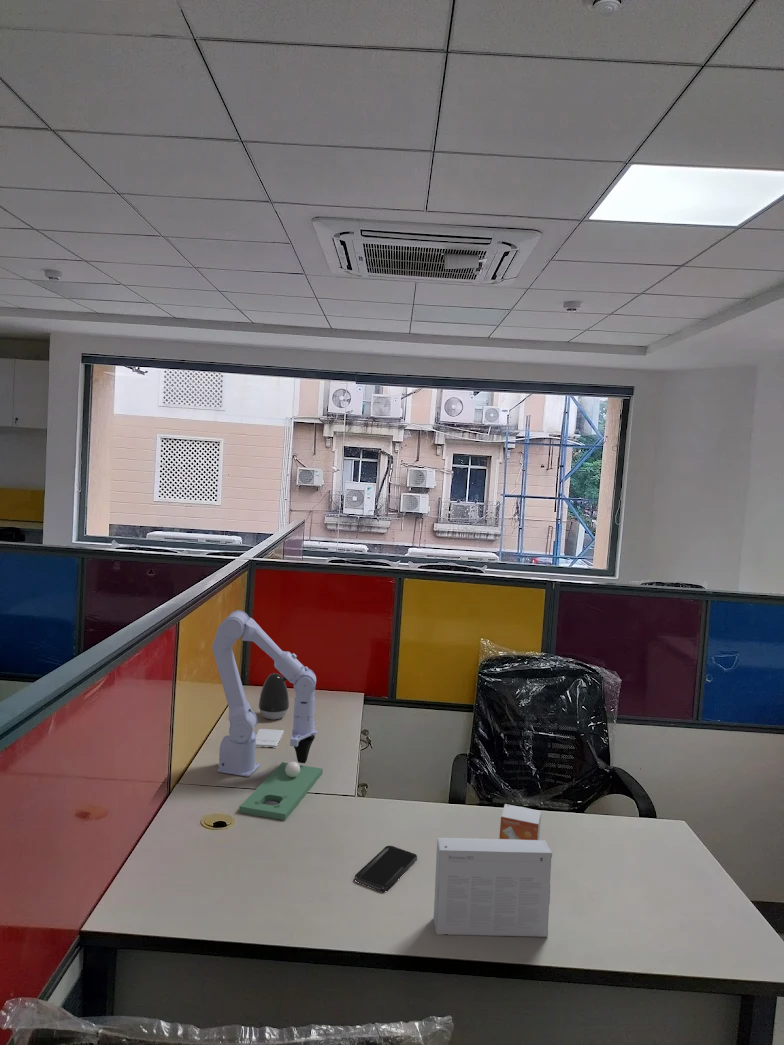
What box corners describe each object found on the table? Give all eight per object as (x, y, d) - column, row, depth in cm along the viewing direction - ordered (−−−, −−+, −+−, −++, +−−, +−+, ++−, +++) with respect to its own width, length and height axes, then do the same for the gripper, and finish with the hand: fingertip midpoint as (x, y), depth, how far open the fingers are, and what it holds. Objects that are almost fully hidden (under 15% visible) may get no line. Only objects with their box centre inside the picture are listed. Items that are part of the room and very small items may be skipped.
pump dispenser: (290, 722, 224) (292, 677, 223) (258, 722, 222) (260, 678, 221) (288, 711, 234) (290, 669, 233) (257, 712, 232) (259, 669, 231)
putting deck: (239, 812, 163) (239, 806, 163) (282, 767, 189) (282, 762, 189) (285, 820, 160) (285, 814, 160) (322, 773, 186) (322, 768, 186)
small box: (496, 875, 142) (500, 816, 141) (500, 859, 148) (504, 802, 147) (534, 884, 140) (539, 823, 139) (537, 867, 146) (541, 810, 145)
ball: (282, 778, 179) (283, 764, 179) (288, 772, 183) (288, 758, 183) (296, 780, 178) (297, 766, 178) (302, 774, 182) (302, 760, 182)
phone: (352, 877, 138) (388, 844, 151) (352, 882, 138) (387, 849, 151) (385, 890, 134) (419, 855, 147) (385, 895, 134) (419, 860, 147)
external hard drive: (283, 734, 215) (276, 750, 202) (258, 733, 215) (249, 748, 202) (284, 730, 214) (276, 745, 202) (258, 728, 215) (249, 743, 202)
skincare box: (541, 918, 129) (546, 839, 128) (548, 938, 123) (554, 855, 122) (432, 915, 128) (436, 835, 127) (434, 935, 122) (439, 851, 121)
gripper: (308, 725, 178) (306, 774, 179) (326, 708, 192) (324, 754, 193) (283, 721, 180) (281, 771, 181) (303, 704, 194) (301, 750, 195)
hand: (302, 762), depth 187 cm, fingers closed
